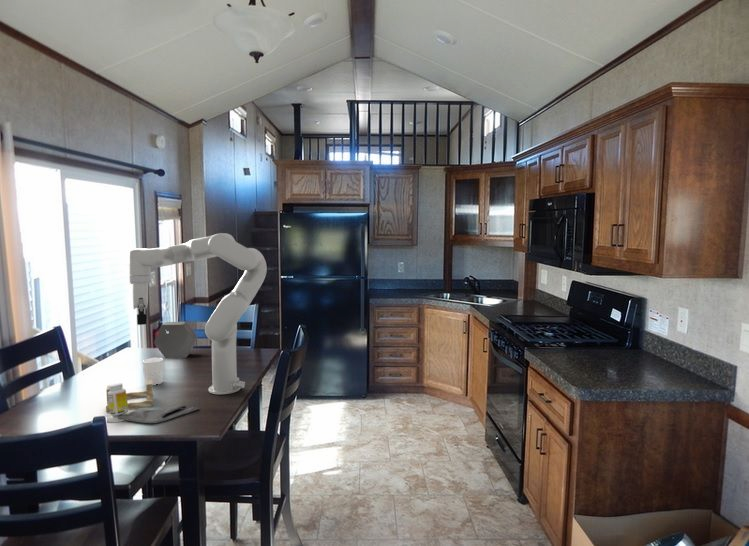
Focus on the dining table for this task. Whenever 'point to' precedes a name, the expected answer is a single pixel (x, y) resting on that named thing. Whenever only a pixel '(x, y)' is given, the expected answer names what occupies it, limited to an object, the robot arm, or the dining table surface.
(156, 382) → the white cup
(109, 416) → the coaster
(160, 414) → the cloth
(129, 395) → the wooden slatted rack
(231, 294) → the robot arm
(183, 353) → the planter
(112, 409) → the supplement bottle
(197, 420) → the dining table surface
